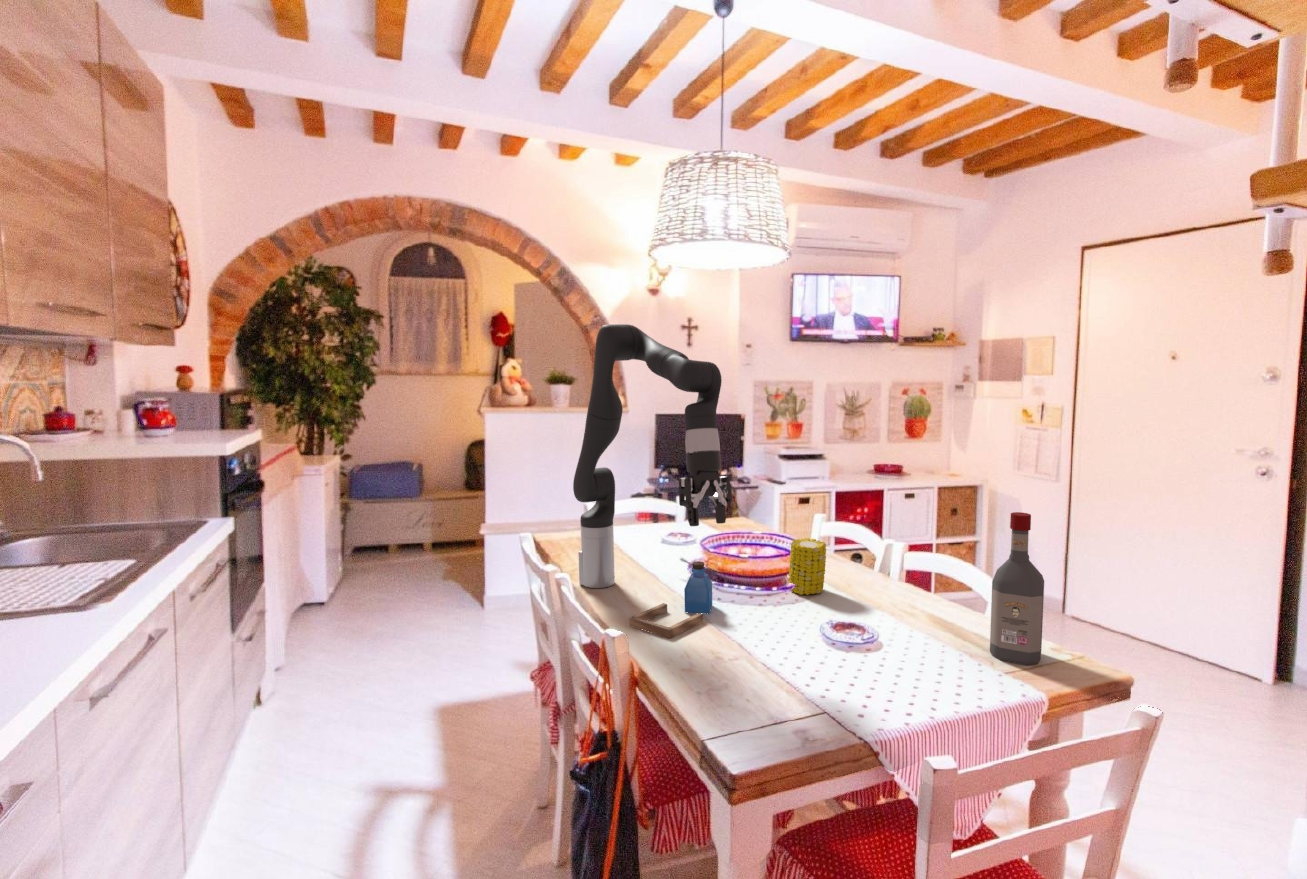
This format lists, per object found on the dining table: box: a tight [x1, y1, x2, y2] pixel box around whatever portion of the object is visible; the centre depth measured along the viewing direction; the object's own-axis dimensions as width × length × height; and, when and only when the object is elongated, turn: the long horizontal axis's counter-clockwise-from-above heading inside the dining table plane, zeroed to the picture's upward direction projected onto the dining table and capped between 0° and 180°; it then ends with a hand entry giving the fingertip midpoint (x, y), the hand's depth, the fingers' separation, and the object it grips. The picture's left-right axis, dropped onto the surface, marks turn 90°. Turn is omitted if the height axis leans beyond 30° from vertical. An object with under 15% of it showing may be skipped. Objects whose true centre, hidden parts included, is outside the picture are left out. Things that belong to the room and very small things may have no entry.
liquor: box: [989, 511, 1045, 666], centre depth 140 cm, size 9×9×30 cm
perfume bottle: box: [683, 560, 713, 615], centre depth 172 cm, size 6×6×12 cm
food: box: [787, 537, 827, 596], centre depth 184 cm, size 15×12×10 cm
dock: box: [628, 602, 704, 639], centre depth 163 cm, size 13×12×2 cm
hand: (707, 524), depth 148 cm, fingers open, 8 cm apart
